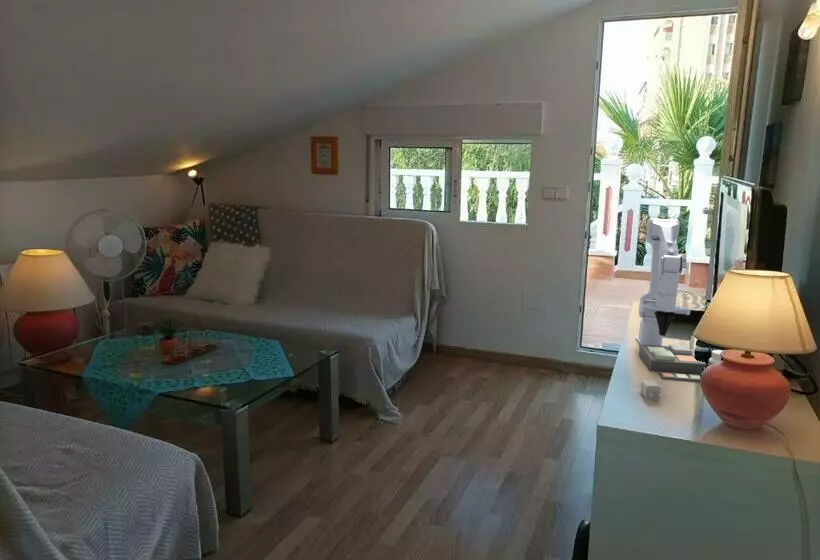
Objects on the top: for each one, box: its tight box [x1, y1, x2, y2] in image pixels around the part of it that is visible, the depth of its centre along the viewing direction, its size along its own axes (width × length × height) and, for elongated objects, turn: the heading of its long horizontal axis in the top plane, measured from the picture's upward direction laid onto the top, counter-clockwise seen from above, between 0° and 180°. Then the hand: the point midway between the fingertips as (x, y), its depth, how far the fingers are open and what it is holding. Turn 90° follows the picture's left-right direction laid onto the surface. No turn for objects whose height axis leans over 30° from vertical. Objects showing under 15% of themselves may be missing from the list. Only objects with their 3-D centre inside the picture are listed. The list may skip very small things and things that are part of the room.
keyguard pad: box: [638, 343, 707, 375], centre depth 196 cm, size 16×16×4 cm
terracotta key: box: [675, 355, 698, 362], centre depth 192 cm, size 5×5×3 cm
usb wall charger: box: [640, 379, 662, 401], centre depth 169 cm, size 4×7×4 cm, turn 176°
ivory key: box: [647, 346, 666, 352], centre depth 200 cm, size 5×5×3 cm
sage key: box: [652, 350, 675, 361], centre depth 193 cm, size 5×5×3 cm
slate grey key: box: [668, 343, 692, 355], centre depth 199 cm, size 5×5×3 cm
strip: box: [658, 372, 701, 383], centre depth 185 cm, size 12×4×1 cm, turn 83°
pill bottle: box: [707, 349, 724, 366], centre depth 180 cm, size 6×6×10 cm
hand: (662, 334), depth 195 cm, fingers closed
